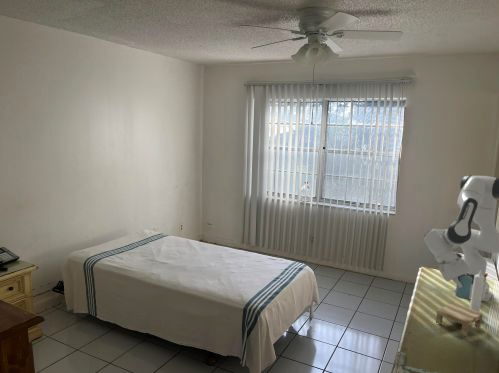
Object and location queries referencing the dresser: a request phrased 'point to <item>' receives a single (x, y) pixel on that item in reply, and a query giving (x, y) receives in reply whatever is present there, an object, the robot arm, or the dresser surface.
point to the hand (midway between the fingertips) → (465, 285)
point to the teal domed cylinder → (464, 287)
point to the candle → (477, 292)
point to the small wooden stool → (460, 316)
